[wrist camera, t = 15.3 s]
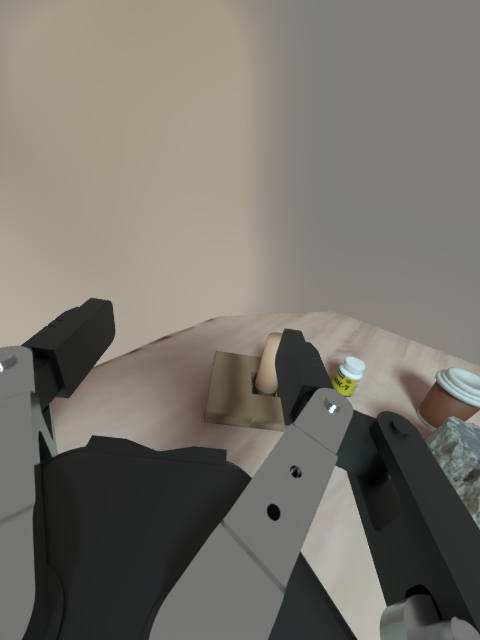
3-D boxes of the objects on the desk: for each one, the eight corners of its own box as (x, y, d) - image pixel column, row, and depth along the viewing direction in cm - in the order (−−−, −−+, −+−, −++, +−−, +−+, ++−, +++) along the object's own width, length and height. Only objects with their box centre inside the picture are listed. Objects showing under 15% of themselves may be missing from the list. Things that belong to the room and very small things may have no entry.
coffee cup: (470, 446, 46) (516, 405, 40) (421, 433, 47) (459, 391, 41) (444, 408, 54) (479, 369, 48) (403, 398, 55) (433, 358, 49)
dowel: (252, 402, 47) (268, 346, 40) (252, 384, 51) (266, 330, 44) (275, 405, 47) (295, 349, 40) (273, 387, 51) (290, 334, 44)
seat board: (204, 421, 42) (205, 410, 40) (214, 361, 55) (215, 351, 54) (325, 436, 43) (331, 426, 41) (306, 374, 57) (310, 364, 55)
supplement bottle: (325, 387, 54) (339, 358, 50) (336, 380, 57) (351, 352, 52) (343, 402, 51) (360, 373, 47) (355, 394, 54) (371, 366, 49)
